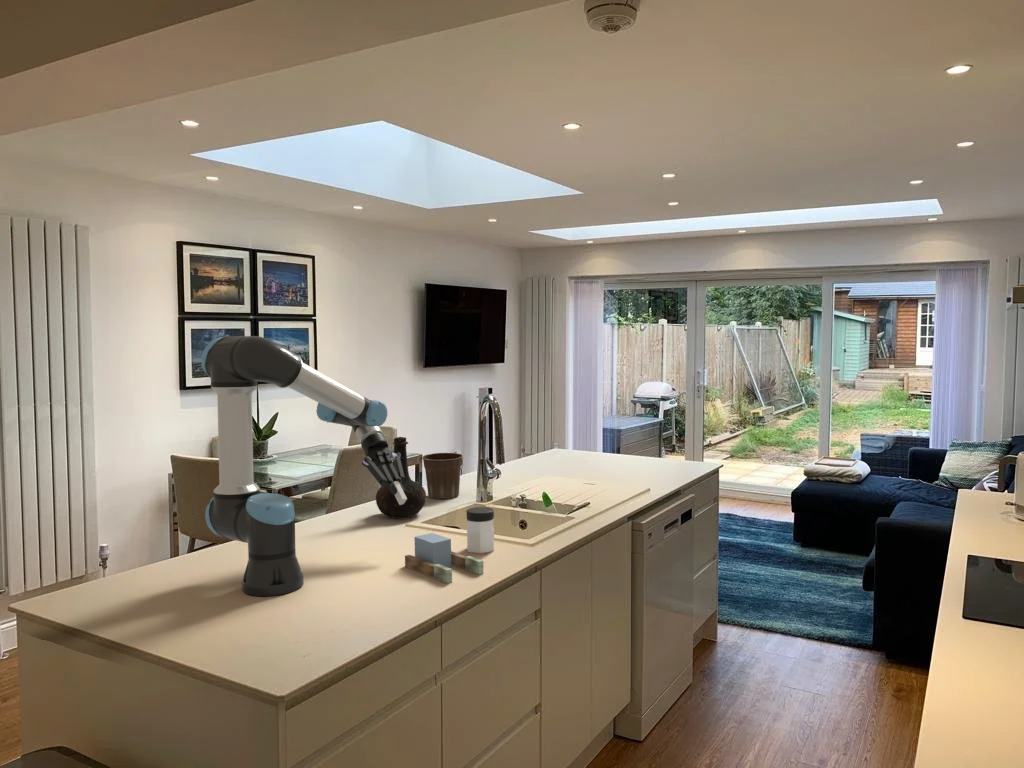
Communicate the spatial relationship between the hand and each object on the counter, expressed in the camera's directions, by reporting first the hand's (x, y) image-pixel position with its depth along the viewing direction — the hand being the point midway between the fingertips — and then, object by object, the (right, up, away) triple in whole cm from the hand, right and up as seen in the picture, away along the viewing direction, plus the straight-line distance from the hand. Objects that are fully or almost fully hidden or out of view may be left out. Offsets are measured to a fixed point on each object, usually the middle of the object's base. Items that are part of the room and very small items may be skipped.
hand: (403, 501), depth 224 cm
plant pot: (+5, -10, +79) cm, 80 cm away
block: (+10, -16, -10) cm, 22 cm away
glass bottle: (-7, -13, +48) cm, 50 cm away
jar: (+23, -15, +5) cm, 28 cm away
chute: (+13, -16, -14) cm, 25 cm away
